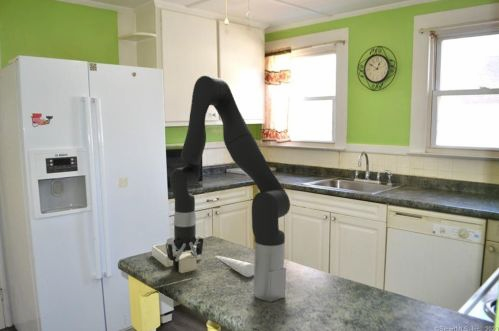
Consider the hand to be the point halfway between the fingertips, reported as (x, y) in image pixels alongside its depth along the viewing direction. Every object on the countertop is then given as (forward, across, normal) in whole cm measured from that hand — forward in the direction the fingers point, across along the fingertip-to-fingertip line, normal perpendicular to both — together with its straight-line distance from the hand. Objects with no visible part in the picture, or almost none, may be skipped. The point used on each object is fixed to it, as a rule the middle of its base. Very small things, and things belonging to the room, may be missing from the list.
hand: (185, 268), depth 140 cm
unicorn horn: (+1, +16, -7) cm, 17 cm away
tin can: (0, +2, +12) cm, 12 cm away
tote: (+1, +2, +12) cm, 12 cm away
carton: (+1, 0, 0) cm, 1 cm away
